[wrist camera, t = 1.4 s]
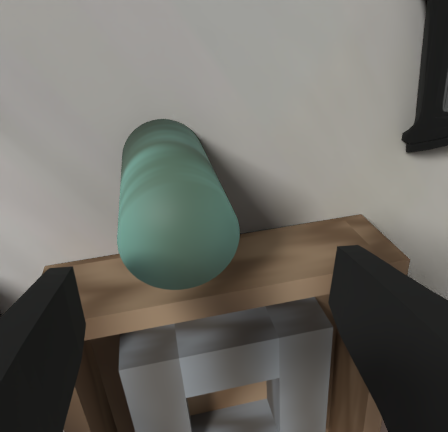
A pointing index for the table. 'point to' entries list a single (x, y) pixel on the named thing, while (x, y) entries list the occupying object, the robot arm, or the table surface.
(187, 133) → the peg
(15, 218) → the table surface
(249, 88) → the table surface
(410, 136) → the electric trimmer
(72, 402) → the box
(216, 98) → the table surface
